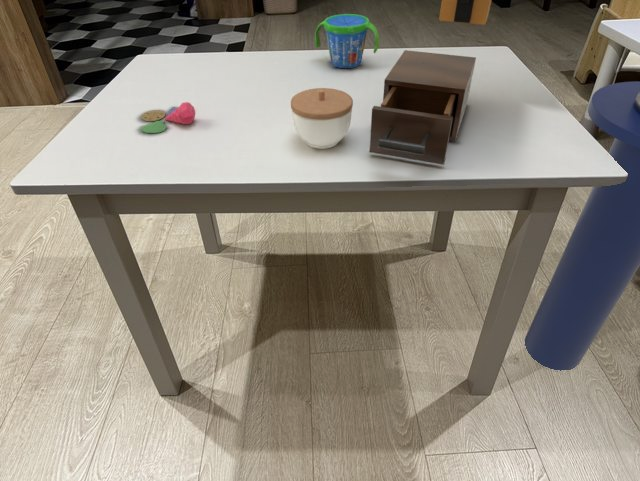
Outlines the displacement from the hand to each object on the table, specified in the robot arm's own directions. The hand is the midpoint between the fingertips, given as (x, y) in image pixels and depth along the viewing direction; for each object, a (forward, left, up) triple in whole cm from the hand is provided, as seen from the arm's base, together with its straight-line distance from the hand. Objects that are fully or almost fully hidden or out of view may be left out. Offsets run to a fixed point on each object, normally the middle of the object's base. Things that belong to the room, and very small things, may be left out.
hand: (464, 17), depth 82 cm
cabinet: (+3, +7, -17) cm, 19 cm away
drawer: (+3, +20, -16) cm, 26 cm away
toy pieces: (+51, +24, -17) cm, 59 cm away
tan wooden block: (0, 0, 0) cm, 0 cm away
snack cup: (+27, -16, -17) cm, 36 cm away
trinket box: (+19, +22, -17) cm, 34 cm away
